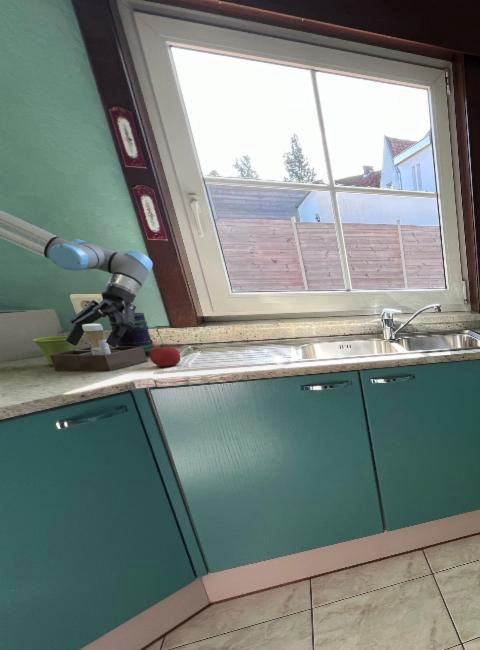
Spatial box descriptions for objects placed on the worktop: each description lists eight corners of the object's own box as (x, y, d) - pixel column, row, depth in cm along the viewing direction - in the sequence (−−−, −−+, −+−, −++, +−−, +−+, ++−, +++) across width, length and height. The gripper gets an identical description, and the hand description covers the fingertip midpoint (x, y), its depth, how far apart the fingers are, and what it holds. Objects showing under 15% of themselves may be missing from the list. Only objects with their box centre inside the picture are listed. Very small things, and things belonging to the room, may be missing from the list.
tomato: (154, 364, 168) (147, 343, 165) (183, 362, 172) (177, 342, 170) (151, 369, 162) (144, 347, 159) (182, 366, 166) (175, 345, 164)
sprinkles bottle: (92, 366, 160) (77, 324, 155) (107, 363, 164) (93, 323, 159) (104, 367, 159) (89, 325, 154) (119, 364, 164) (105, 323, 159)
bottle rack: (55, 370, 157) (49, 355, 155) (97, 360, 172) (92, 346, 170) (110, 371, 159) (104, 355, 157) (147, 361, 173) (142, 346, 171)
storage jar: (163, 354, 184) (151, 313, 179) (135, 359, 175) (121, 316, 170) (143, 352, 186) (130, 312, 181) (114, 357, 177) (99, 314, 172)
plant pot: (36, 368, 160) (25, 341, 157) (52, 362, 168) (42, 336, 164) (74, 366, 163) (64, 340, 160) (88, 360, 171) (79, 335, 168)
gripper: (165, 300, 168) (137, 352, 160) (97, 298, 170) (66, 349, 161) (145, 285, 161) (116, 338, 153) (75, 282, 163) (42, 335, 154)
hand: (90, 344), depth 157 cm, fingers open, 13 cm apart
